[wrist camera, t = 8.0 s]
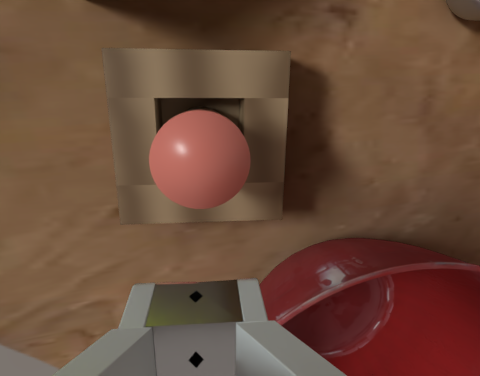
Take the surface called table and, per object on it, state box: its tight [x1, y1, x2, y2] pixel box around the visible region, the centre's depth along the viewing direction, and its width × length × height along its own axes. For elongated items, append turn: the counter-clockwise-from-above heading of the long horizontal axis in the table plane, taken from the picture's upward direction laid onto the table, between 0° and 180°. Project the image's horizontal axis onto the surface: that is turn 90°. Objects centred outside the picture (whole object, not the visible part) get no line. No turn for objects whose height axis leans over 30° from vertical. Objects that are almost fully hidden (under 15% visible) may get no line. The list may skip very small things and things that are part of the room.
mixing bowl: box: [259, 238, 480, 376], centre depth 34 cm, size 28×28×16 cm
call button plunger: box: [149, 107, 251, 209], centre depth 27 cm, size 6×6×10 cm
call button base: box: [102, 48, 291, 225], centre depth 31 cm, size 14×14×5 cm
